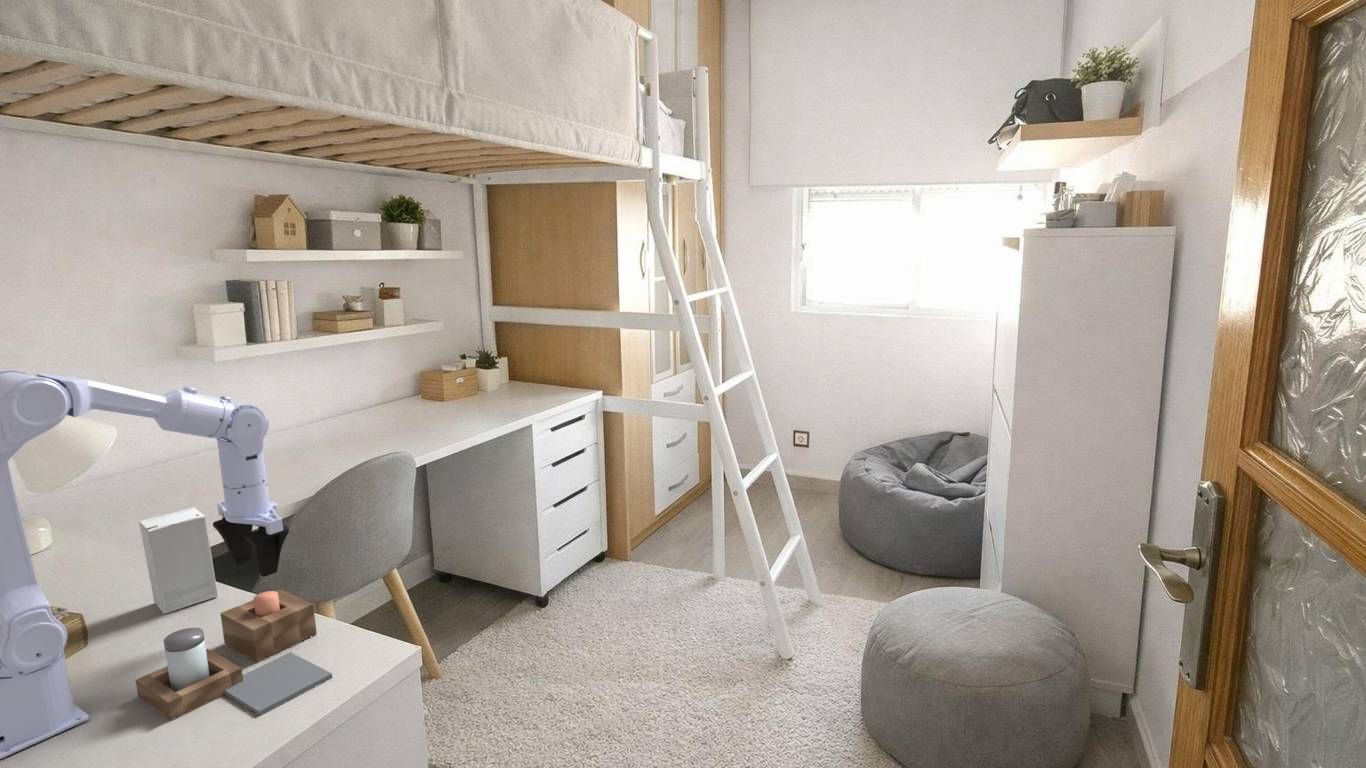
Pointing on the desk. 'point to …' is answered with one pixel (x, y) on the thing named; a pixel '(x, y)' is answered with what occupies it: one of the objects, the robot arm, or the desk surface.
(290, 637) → the plunger housing
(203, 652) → the cylinder
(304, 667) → the pad
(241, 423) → the robot arm
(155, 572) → the skincare box
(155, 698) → the sleeve
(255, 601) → the plunger
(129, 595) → the desk surface
